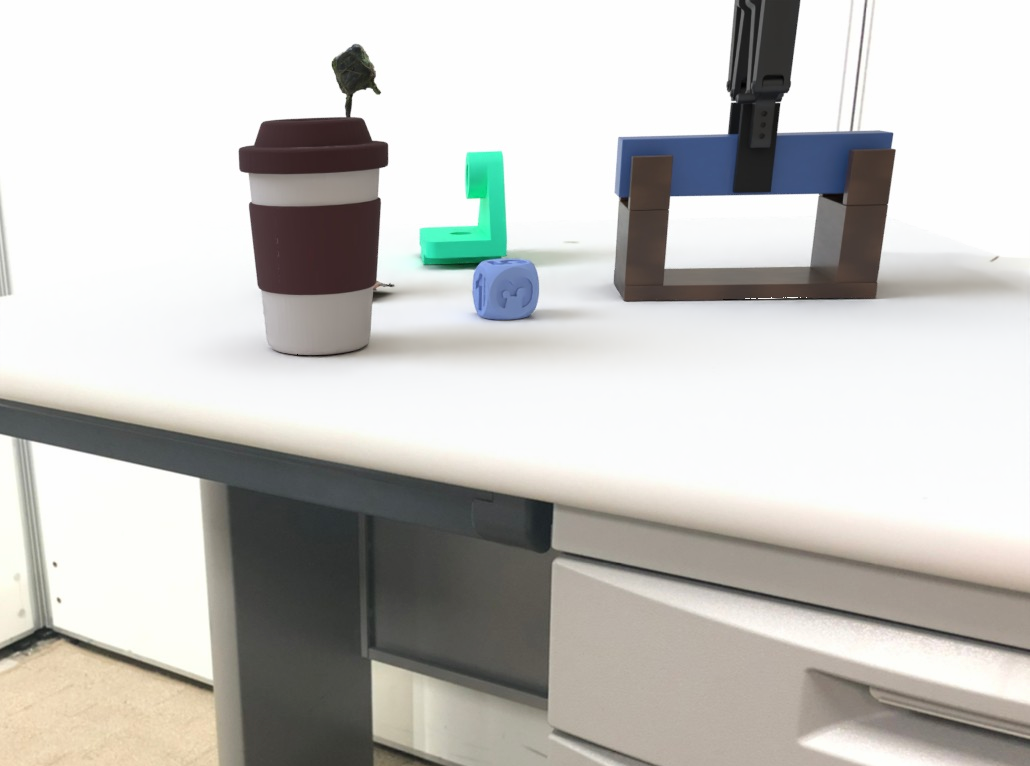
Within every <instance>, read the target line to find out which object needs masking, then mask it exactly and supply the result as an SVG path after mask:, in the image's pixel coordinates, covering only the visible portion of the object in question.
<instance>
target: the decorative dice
mask: <svg viewBox="0 0 1030 766" xmlns="http://www.w3.org/2000/svg"><path fill="white" fill-rule="evenodd" d="M473 272H474V273H473V275H472V277H473V278H472V299H473V305H474V309H475V312H476V313H477V315H478V316H479V317H481V318H483V319H488V320H499V321H501V320H502V321H503V320H504V321H509V320H520V319H526V318H528V317H529V316H531V314H533V313H534V311H535V310H536V308H537V306H538V302H539V297H540V279H539V274H538V271H537V267H536V265H535V264H534V262H533V261H532V260H529V259H523V258H502V259H492V260H485V261H482V262H481V263H478V265H477V266H476V267H475V269H474V271H473Z"/></svg>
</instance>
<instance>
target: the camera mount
mask: <svg viewBox="0 0 1030 766" xmlns="http://www.w3.org/2000/svg"><path fill="white" fill-rule="evenodd" d="M464 166H465V167H464V187H465V188H464V189H465V197H466V198H465V199H466V200H476V199H479V206H478V216H477V217H478V218H477V225H462V226H461V225H460V226H459V225H457V226H433V227H432V226H431V227H420V228H419V247H420V259H421V262H422V264H423V265H424V266H426V265H427V266H428V265H454V264H455V265H456V264H457V265H458V264H480V263H481V262H482V261H485V260H492V259H503V258H502V257H507V253H508V234H507V233H508V232H507V231H508V230H507V210H506V188H505V167H504V154H503V151H502V150H493V151H467V152H466V156H465V165H464Z"/></svg>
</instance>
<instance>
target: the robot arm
mask: <svg viewBox="0 0 1030 766" xmlns="http://www.w3.org/2000/svg"><path fill="white" fill-rule="evenodd" d="M800 6H801V0H734V4H733V14H732V15H733V16H732V28H731V39H730V41H731V42H730V50H729V51H730V52H729V63H728V75H727V81H726V86H725V87H726V91H727V93H729V97H730V109H729V117H728V119H729V120H728V128H727V129H728V130H727V134H738V143H737V153H736V163H735V173H734V183H733V193H757V192H771V185H772V176H773V167H774V158H775V149H776V140H777V133H778V132H779V131H778V129H779V120H780V119H779V118H780V113H781V102H782V100H783V98H784V96H785V94H788V93H789V91H790V89H791V86H792V81H791V80H792V79H791V78H792V73H793V63H794V54H795V46H796V41H797V40H796V39H797V30H798V24H799V14H800Z"/></svg>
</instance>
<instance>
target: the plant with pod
mask: <svg viewBox="0 0 1030 766" xmlns="http://www.w3.org/2000/svg"><path fill="white" fill-rule="evenodd" d="M331 68H332V70H333V73H334V75H335V79H336V80H335V81H336V82H337V84H338V88H339V90H340V92H341V93H342V94H345V96H346V97H345V102H344V103H345V104H344V110H345V117H352V116H351V115H352V108H353V96H354V94H355V93H357V92H359V91H366V90H367V89H371V90H372V92H373V93H375V95H378V96H380V95H381V94H382V91H381V90H380V89H379V87H378V86H377V83H375V79H376V77H377V71H376V70H375V65H374V64H373V62H371V60H370V57H369V55H368V53H367V51H366V50H365V49H364V47H363V46H362V45H361V44H359V43H353V44H352V45H351V46H350V47H348V48H346V49H345V50H344V51H342V52H341V53H339V54H338V55H337V56H335V57H334V58H333V59H332V60H331ZM379 287H383V288H393V287H395V284H394V283H391V282H389V284H388V283H383V282H380V281H378V280H376V284H375V285H374V286H373V292H377V291H378V290H377V289H378V288H379Z"/></svg>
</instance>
